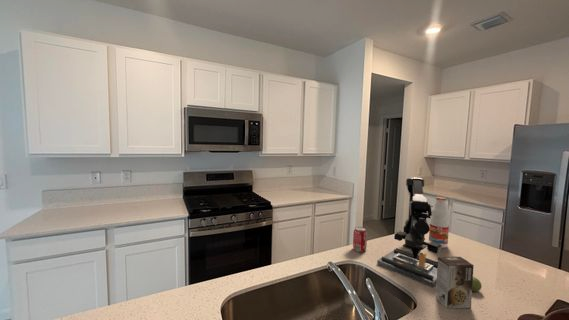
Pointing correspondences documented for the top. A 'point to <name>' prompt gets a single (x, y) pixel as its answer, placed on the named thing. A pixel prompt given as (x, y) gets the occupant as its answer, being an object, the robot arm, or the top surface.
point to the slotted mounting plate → (410, 267)
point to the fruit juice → (439, 223)
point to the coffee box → (454, 282)
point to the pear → (476, 284)
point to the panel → (411, 263)
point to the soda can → (360, 239)
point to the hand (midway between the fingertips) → (415, 259)
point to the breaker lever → (422, 260)
